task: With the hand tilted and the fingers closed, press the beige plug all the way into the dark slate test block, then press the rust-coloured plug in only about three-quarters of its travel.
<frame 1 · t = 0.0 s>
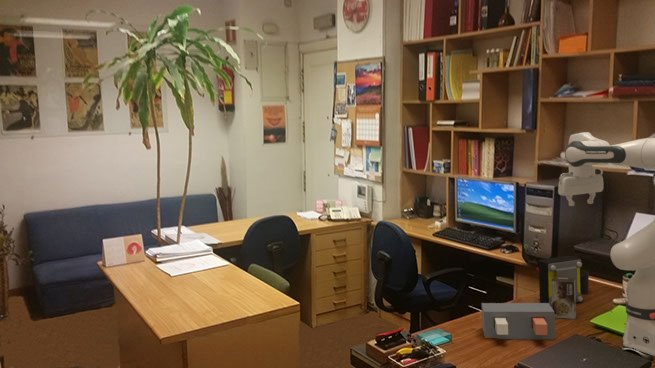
hand: (581, 204, 227), 48 cm above the table, tool pointing down, fingers open, 8 cm apart
pen holder: (578, 292, 264), on the table
test block: (517, 334, 216), on the table
electrical component: (560, 302, 251), on the table
beige plug: (500, 324, 211), point 7 cm above the table, slide at 0.0 cm
rust plug: (538, 324, 208), point 6 cm above the table, slide at 0.0 cm
coffee box: (564, 316, 234), on the table
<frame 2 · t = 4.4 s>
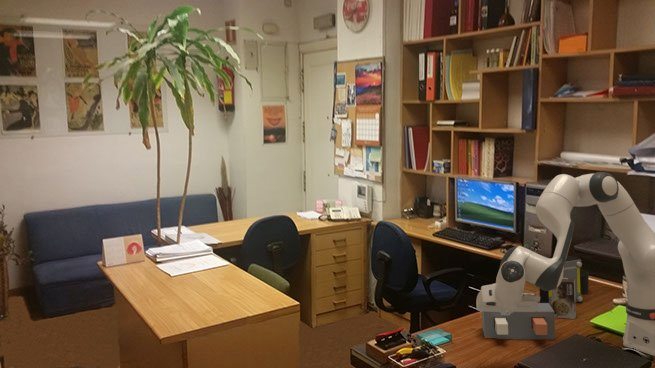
hand: (505, 313, 193), 17 cm above the table, tool tilted 45°, fingers closed
nothing on the table moved.
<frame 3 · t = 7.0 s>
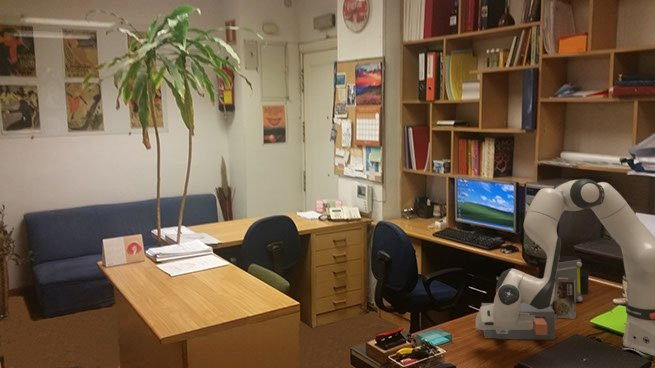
hand: (502, 331, 206), 6 cm above the table, tool tilted 45°, fingers closed, pressing on beige plug
beige plug: (500, 323, 212), point 6 cm above the table, slide at 0.9 cm, touching gripper
everything else where it was.
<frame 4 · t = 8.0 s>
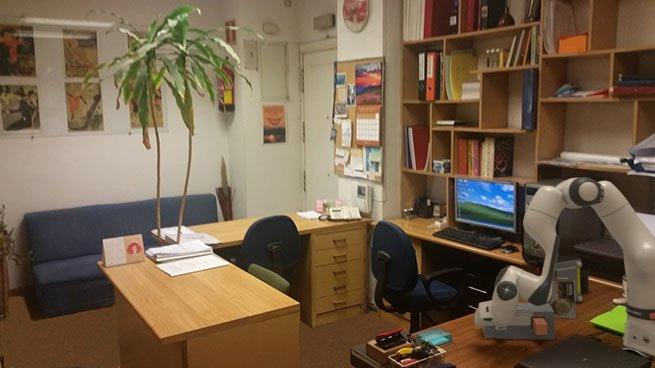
hand: (501, 326, 210), 6 cm above the table, tool tilted 45°, fingers closed, pressing on beige plug
beige plug: (499, 319, 216), point 7 cm above the table, slide at 5.2 cm, touching gripper
everything else where it was.
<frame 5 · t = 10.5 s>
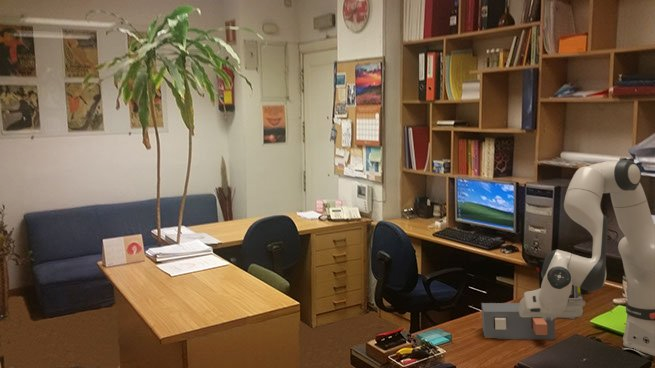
hand: (547, 318, 191), 15 cm above the table, tool tilted 45°, fingers closed
beige plug: (499, 319, 216), point 6 cm above the table, slide at 5.2 cm
everything else where it was.
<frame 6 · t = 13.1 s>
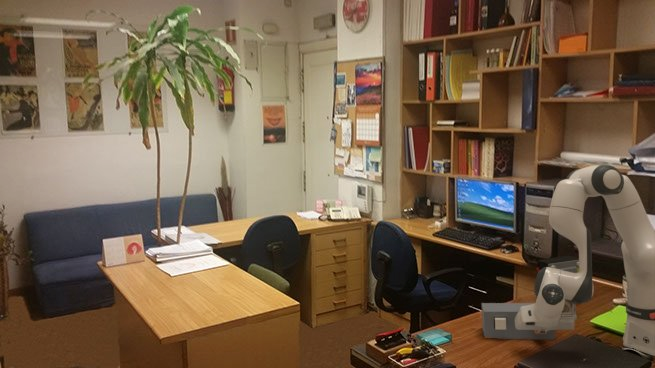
hand: (541, 331, 204), 6 cm above the table, tool tilted 45°, fingers closed, pressing on rust plug
rust plug: (538, 323, 210), point 7 cm above the table, slide at 1.2 cm, touching gripper
everything else where it was.
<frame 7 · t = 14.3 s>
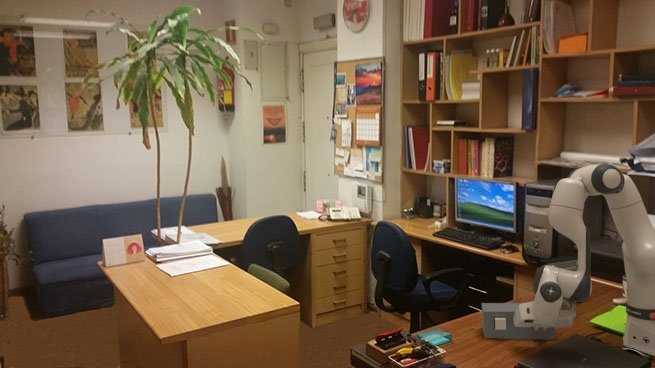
hand: (540, 328, 206), 6 cm above the table, tool tilted 45°, fingers closed
rust plug: (537, 321, 212), point 7 cm above the table, slide at 3.7 cm
everything else where it was.
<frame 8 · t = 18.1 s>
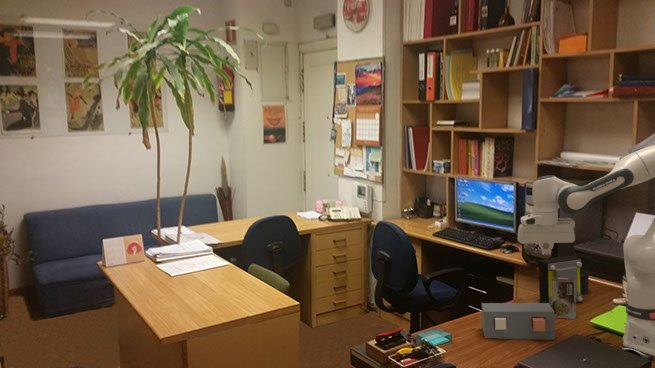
hand: (546, 254, 208), 33 cm above the table, tool pointing down, fingers closed
nothing on the table moved.
at the end: beige plug slide at 5.2 cm; rust plug slide at 3.7 cm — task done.
